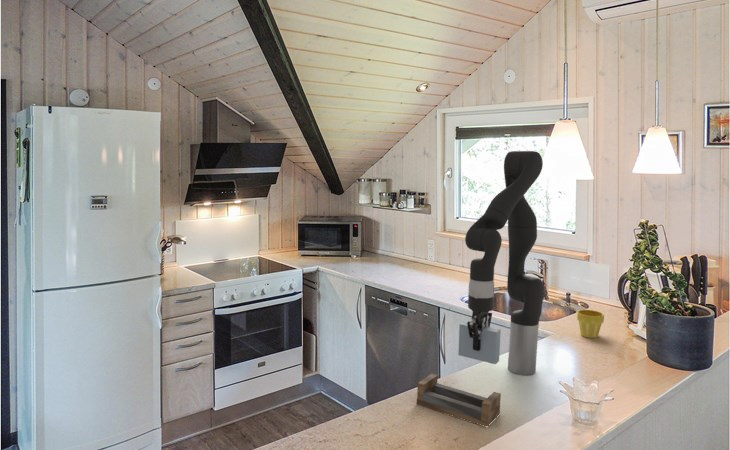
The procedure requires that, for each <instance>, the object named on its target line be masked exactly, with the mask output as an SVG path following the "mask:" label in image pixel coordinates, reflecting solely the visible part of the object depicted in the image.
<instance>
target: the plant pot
mask: <svg viewBox="0 0 730 450" xmlns="http://www.w3.org/2000/svg"><path fill="white" fill-rule="evenodd" d="M576 319H577V321H578V325H579V331H580V335H581V336H582V337H585V338H589V339H595V338H598V337H599V335H600V331H601V327H602V325H603V323H604V320H605V314H604V313H603V312H602V311H598V310H593V309H579V310H577V312H576Z"/></svg>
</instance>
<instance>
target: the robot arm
mask: <svg viewBox="0 0 730 450" xmlns="http://www.w3.org/2000/svg"><path fill="white" fill-rule="evenodd" d="M542 170H543V157H542V155H541V154H540V152H538V151H536V150H535V151H534V150H511V151H508V152H507V153H506V155H505V158H504V161H503V172H504V173H503V174H504V175H503V176H504V183H505V188H504V189H502V191H499V192H498V193H497V195H495V196H494V197H493V199H492V200H491V201H490V202H489V204H488V207H487V208H486V210H485V212H484V214H483V215H481V216H480V217H479V218H478V219H477V220H476V221H475V222H474V223H473V224H471V226H470V227H469V229H468V230H467V232H466V233H465V234H466V235H465V237H464V240H465V241H464V243H465V246H466V247H467V249H469V250H471V251H478V252H481V253H482V252H483V253H484V255H483V257H480V258H479V257H478V258H474V259H472V260H471V262H470V266H469V267H470V269H469V282H468V292H467V293H468V294H467V297H468V298H467V307H468V309H469V310H471V311H472V314H471V319H470V321H469V320H468V321H467V322H468V323H467V325H468V331H469V336H470V338H473V350H476V351H479V350H480V347H481V332H482V331H483V329H484V326H485V327H491V323H492V318H493V313H492V312H491V311H493V309H494V305H495V303H494V299H495V281H494V279H495V266H496V262H497V258H498V255H499V252H500V250H501V247H502V242H503V241H502V236H501V234H500V232H499V230H501V229H503V228H505V226H506V223H507V237H508V268H507V269H508V270H507V284H506V285H507V294H508V296H509V298H510V299H512V300H514V301H517V302H521V303H523V309H518V310H514V311H512V312H511V314H510V327H509V342H508V343H509V344H508V357H507V369H508V371H509V372H511V373H512V374H516V375H520V376H531V375H535V374H536V369H537V355H538V354H537V353H538V339H539V323H540V318H541V315H542V312H543V311H542V309H543V303H544V302H543V301H544V295H545V293H544V292H545V288H544V287H545V286H544V282H543V281H542V279H541V278H539V277H535V276H531V275H527V274H526V273H525V264H526V258H527V256H528V255H529V253H530V252H531V250H532V248H534V245H535V244H536V241H537V238H538V229H537V228H538V222H537V221H538V220H537V216H536V214H535V213H534V210H533V208H532V207H531V205H530V204H529V203H528V201H527V199H526V197H525V194H526V193H527V191H529V189H530V188H531V187H532V185H534V183H535V182H536V181H537V179H538V178H539V176H540V175H541V172H542ZM477 327H479V328H480V329H479V328H477ZM478 332H479V333H478Z"/></svg>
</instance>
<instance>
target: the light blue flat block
mask: <svg viewBox="0 0 730 450" xmlns="http://www.w3.org/2000/svg"><path fill="white" fill-rule="evenodd" d="M467 323H468V321H463V322H460V323H459V331H458V353H457V354H458V356H459V357H460V356H461V357H464V358H469V359H473V360H475V361H476V360H477V361H480V362H483V363H484V362H485V363H489V364H492V365H496V364H498V362H500V351H501V349H500V348H501V328H497V327H496V328H495V327H491V326H490V327H485V326H484V329H483V331H482V332H481V347H480V350H479V351H476V350H473V338H470V336H469V331H468V325H467ZM477 328H479V327H477ZM479 329H480V328H479ZM478 333H479V332H478Z"/></svg>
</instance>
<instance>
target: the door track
mask: <svg viewBox="0 0 730 450" xmlns="http://www.w3.org/2000/svg"><path fill="white" fill-rule="evenodd" d="M438 377H439V376H438V375H437V374H435V373H431V374H429V375H427V376H426V377H425V378H423V379H421V380H420V381H419V382H417V392H416V394H417V396H416V397H417V398H416V405H418V406H421V407H424V408H427V409H430V410H432V411H436V412H438V411H439V412H438V413H441V412H442V414H444V413H446V414H445V415H447V414H449V415H448V416H450V415H453V416H455V417H454V418H456V417H459V418H462V419H465V420H468V421H471V422H473V423H472V424H474V423H478V424H481V425H484V426H489V424H490V423H491V422H492V421H493V420H494V419H495V418H497V416H498V415H499V414H500V415H501V397H502V393H500V392H497V391H493V392H492V393H491V394H490V395H488V396H487V397H484V396H482V395H478V394H475V393H471V392H469V391H465V390H461V389H458V388H456V387H455V388H454V387H451V386H448V385H446V384H445V385H444V384H442V383H439V382H438ZM500 415H499V416H500ZM453 416H452V417H453ZM499 416H498V417H499ZM459 418H458V419H459ZM462 419H461V420H462ZM465 420H464V421H465ZM468 421H467V422H468ZM471 422H470V423H471ZM489 427H490V426H489Z"/></svg>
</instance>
